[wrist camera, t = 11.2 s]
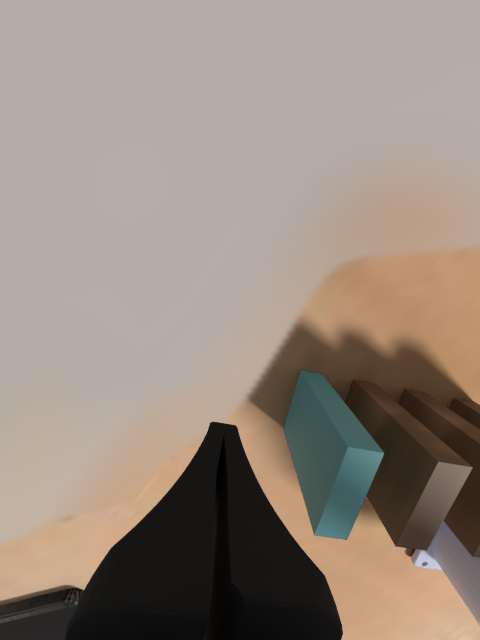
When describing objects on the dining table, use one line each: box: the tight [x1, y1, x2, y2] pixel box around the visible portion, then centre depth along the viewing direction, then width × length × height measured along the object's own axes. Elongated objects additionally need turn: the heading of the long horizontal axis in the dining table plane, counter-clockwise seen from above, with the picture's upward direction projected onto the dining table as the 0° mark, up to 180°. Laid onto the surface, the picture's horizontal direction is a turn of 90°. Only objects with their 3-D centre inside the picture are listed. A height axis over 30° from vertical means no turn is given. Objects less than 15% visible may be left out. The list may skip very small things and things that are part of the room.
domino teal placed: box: [284, 370, 384, 540], centre depth 13 cm, size 2×5×7 cm, turn 169°
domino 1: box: [345, 380, 473, 551], centre depth 13 cm, size 2×5×7 cm, turn 168°
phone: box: [0, 588, 84, 640], centre depth 22 cm, size 8×1×15 cm
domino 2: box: [399, 389, 480, 558], centre depth 14 cm, size 2×5×7 cm, turn 169°
